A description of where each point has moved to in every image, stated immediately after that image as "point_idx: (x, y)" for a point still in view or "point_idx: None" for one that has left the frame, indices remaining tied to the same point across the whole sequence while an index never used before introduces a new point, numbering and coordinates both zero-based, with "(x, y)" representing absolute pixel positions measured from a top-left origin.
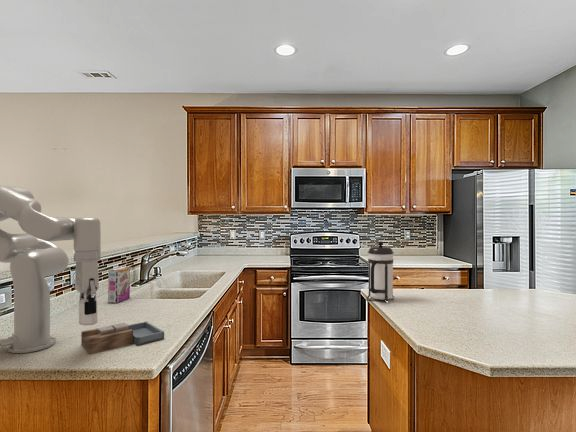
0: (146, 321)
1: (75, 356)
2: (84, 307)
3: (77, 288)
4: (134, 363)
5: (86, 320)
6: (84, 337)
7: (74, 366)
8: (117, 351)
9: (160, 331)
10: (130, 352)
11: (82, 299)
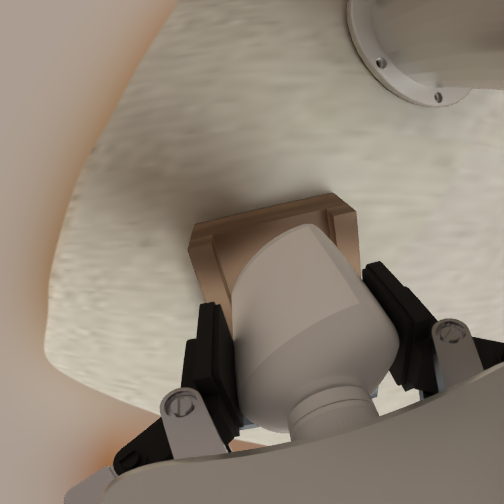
0: (376, 396)
1: (199, 173)
2: (210, 338)
3: (379, 464)
4: (69, 337)
5: (247, 279)
6: (316, 217)
7: (94, 180)
8: (181, 310)
9: (244, 425)
10: (154, 340)
11: (329, 362)
